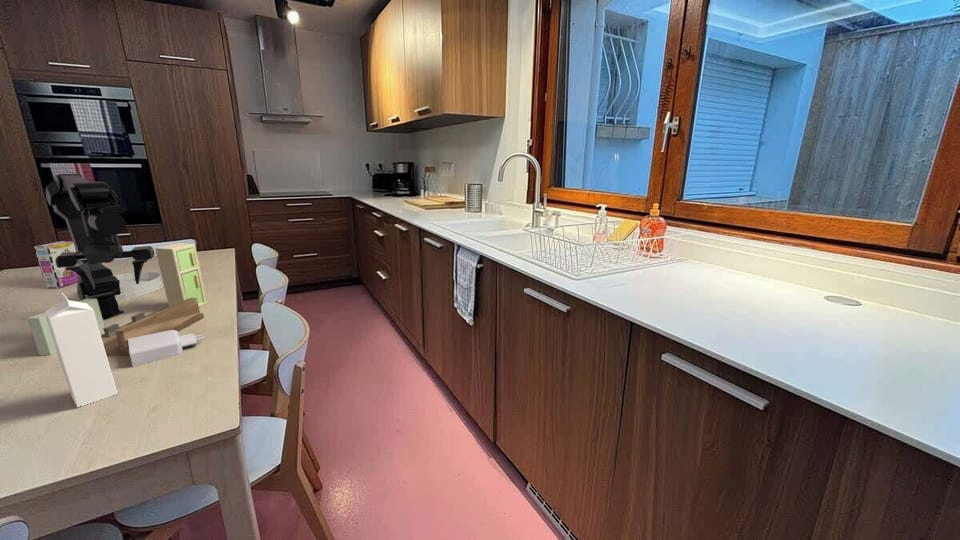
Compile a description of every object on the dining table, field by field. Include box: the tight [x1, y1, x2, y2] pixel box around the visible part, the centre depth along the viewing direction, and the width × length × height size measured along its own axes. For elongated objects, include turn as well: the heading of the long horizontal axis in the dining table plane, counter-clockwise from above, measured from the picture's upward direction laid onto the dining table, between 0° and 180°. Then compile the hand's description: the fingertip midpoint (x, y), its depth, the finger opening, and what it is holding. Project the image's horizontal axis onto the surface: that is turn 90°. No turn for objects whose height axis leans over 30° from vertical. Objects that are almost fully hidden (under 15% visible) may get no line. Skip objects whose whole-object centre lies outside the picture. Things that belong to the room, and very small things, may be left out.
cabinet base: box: [100, 298, 205, 356], centre depth 107 cm, size 16×24×6 cm, turn 177°
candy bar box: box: [33, 240, 79, 289], centre depth 149 cm, size 11×5×16 cm, turn 6°
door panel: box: [26, 299, 106, 356], centre depth 102 cm, size 3×14×10 cm, turn 177°
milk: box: [43, 292, 118, 408], centre depth 76 cm, size 6×6×22 cm
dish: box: [85, 271, 164, 302], centre depth 142 cm, size 22×22×5 cm
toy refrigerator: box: [155, 242, 208, 308], centre depth 125 cm, size 8×7×21 cm
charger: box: [128, 330, 206, 368], centre depth 98 cm, size 5×9×15 cm
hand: (116, 286), depth 106 cm, fingers open, 9 cm apart
